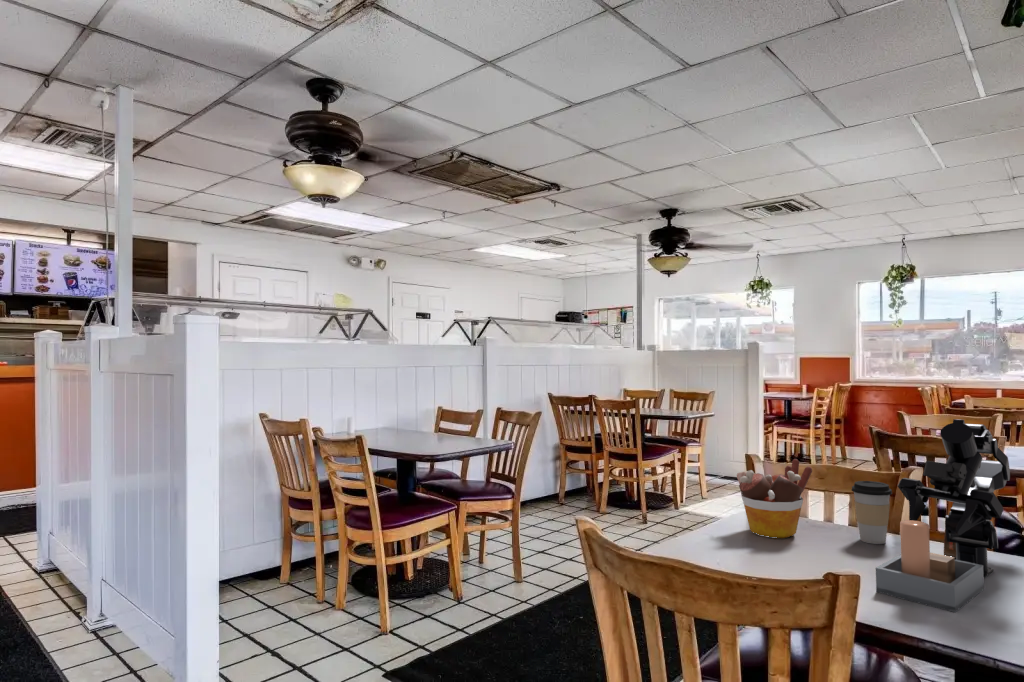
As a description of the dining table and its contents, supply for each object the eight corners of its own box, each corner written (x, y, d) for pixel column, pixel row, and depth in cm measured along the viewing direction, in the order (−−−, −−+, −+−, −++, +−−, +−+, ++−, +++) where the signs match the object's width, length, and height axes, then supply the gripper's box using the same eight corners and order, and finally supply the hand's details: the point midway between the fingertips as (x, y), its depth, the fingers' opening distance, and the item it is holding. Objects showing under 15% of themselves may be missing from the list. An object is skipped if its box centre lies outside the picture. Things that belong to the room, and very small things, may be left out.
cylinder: (899, 583, 133) (897, 519, 133) (926, 585, 131) (924, 521, 131) (906, 592, 128) (904, 526, 128) (934, 595, 127) (932, 528, 127)
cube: (928, 574, 138) (927, 551, 138) (955, 581, 134) (954, 557, 134) (920, 580, 135) (919, 556, 135) (947, 586, 131) (946, 562, 131)
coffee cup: (870, 534, 172) (868, 479, 173) (902, 543, 164) (900, 485, 164) (844, 538, 169) (842, 482, 169) (875, 548, 160) (874, 488, 161)
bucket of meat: (764, 545, 164) (762, 468, 165) (724, 528, 180) (723, 458, 180) (825, 537, 170) (823, 463, 171) (782, 522, 186) (780, 454, 186)
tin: (948, 544, 162) (947, 511, 163) (963, 546, 160) (962, 513, 161) (942, 559, 151) (941, 524, 151) (958, 562, 149) (957, 526, 149)
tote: (909, 572, 143) (908, 549, 143) (983, 589, 132) (983, 565, 132) (876, 591, 131) (875, 567, 132) (955, 612, 121) (954, 586, 121)
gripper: (900, 442, 145) (873, 496, 139) (993, 453, 128) (966, 515, 123) (921, 472, 148) (895, 527, 143) (1014, 487, 132) (989, 549, 127)
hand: (933, 528), depth 134 cm, fingers open, 9 cm apart
